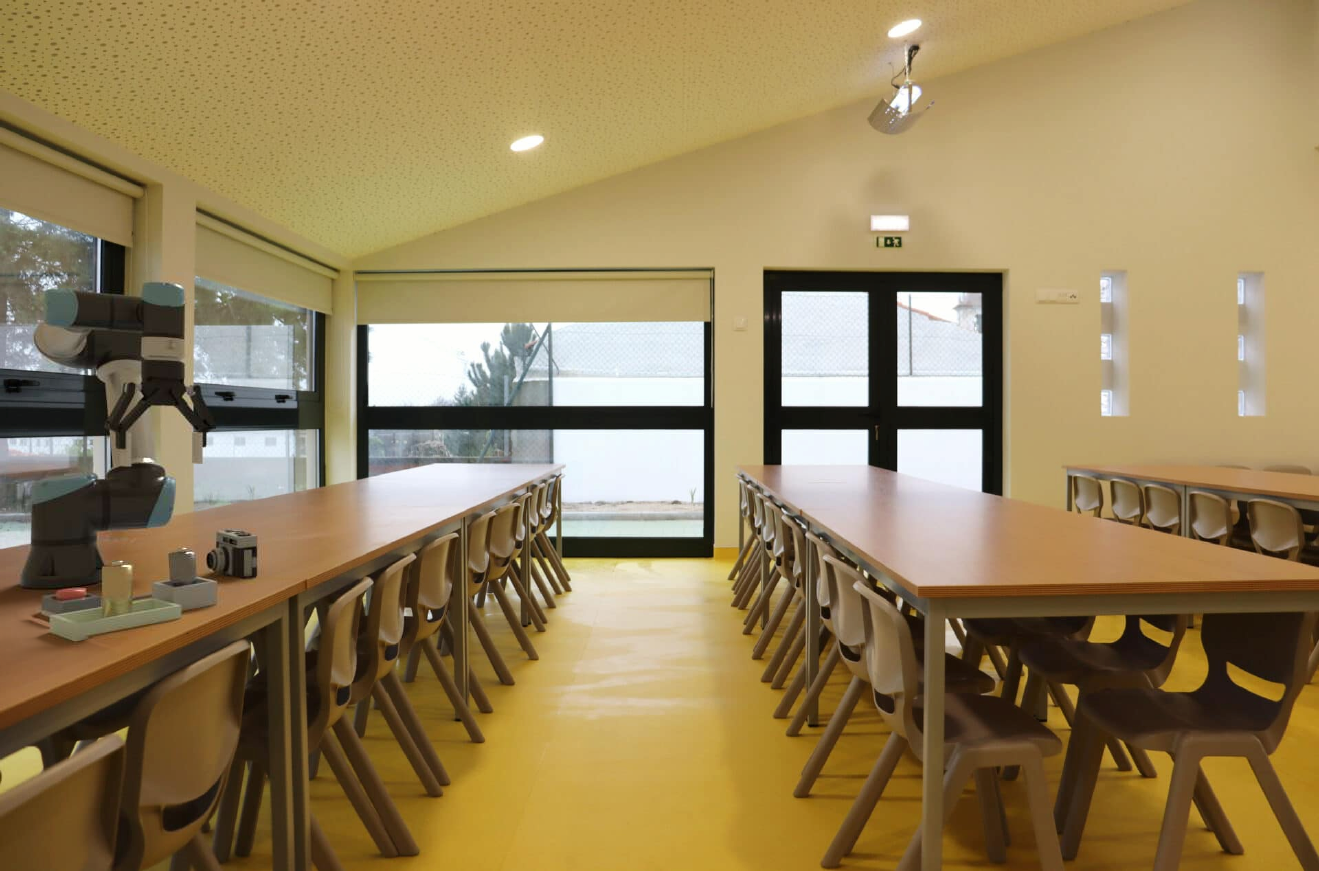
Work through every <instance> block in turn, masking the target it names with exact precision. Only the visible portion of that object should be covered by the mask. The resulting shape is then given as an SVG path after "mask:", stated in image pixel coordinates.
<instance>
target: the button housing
mask: <svg viewBox="0 0 1319 871" xmlns="http://www.w3.org/2000/svg"><path fill="white" fill-rule="evenodd" d="M99 607H102V596H98V595H95V594H92V593H88V592H86V597H84V598H77V599H71V600H64V601H60V600H57V599H56V593H54V594H53V593H52V594H46V595H41V611H40V614H41V615H42V616H45V617H49V618H50V616H51V615H57V614H63V613H69V612H75V611H81V610H87V609H93V608H99Z"/></svg>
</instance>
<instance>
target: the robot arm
mask: <svg viewBox="0 0 1319 871" xmlns="http://www.w3.org/2000/svg"><path fill="white" fill-rule="evenodd" d="M185 295H186V294H185V289H184V287H183V286H182V285H180V284H176V283H174V282H165V281H146V282H144V283H143V284H142V285H141V294H140V296H135V295H125V294H115V293H103V292H92V291H85V290H73V289H69V288H63V289H62V288H48V289H46V290H45V291H44V295H43V303H42V305H43V306H42V310H43V311H42V312H43V313H42V314H43V320H42V321H41V322H40V323H38V325H37V326H36V328H35V331H34V333H33V343H34V345H35V347H36V349H37V350H38V352H39V353H40V354H42V355H43V356H44V357H45V358H47V359H48V360H50V361H52V362H54V363H56V364H58V365H61V366H63V367H67V368H72V369H77V370H78V369H79V370H80V369H81V370H92V371H93V370H95V371H96V377H97V378H98V379H99V380H100V381H102V382H103V383H105V384H104V385H105V395H106V404H107V405H106V406H107V415H108V416H107V419H106V421H105V423H104V427H103V428H104V429H106V430H109V437H110V447H111V448H110V449H111V450H110V451H111V457H112V467H111V468H110V469H108V471H106V473H105V478H99V476H98V474H97V473H96V472H82V473H72V474H64V475H58V476H57V475H56V476H52V477H46V478H43V479H42V478H41V479H38V480H36V481H35V482H34V483H33V485H32V486H31V489H30V490H31V491H30V500H29V505H30V506H31V507H30V549H29V553H28V555H27V558H26V560H25V563H24V565H23V568H22V570H21V573H20V577H19V580H20V581H19V583H20V584H19V585H20V587H23V588H26V589H58V588H59V589H60V588H61V589H62V588H71V587H72V588H74V587H79V586H85V585H91V584H96V583H99V582H100V583H101V582H102V567H103V566H105V565H106V564H105V562H104V559H103V556H102V553H101V551H100V548H99V546H98V532H109V531H111V532H112V531H121V530H122V531H124V530H125V531H126V530H128V531H129V530H140V529H143V530H144V529H145V530H148V529H151V528H152V529H154V528H160V527H165V526H167V525H168V524H169V523H170V521H171V519H172V517H173V513H174V508H175V502H176V491H177V489H176V488H177V487H176V485H177V484H176V482H177V481H176V479H175V478H174V476H170V475H169V476H166V475H167V474H166V469H165V467H164V466H162V465H161V464H160V463H157V455H156V447H155V439H154V436H155V435H154V430H153V421H152V420H153V419H152V413H151V412H152V410H151V407H153V406H154V407H155V406H156V407H159V406H160V407H161V406H164V407H174V408H176V409H177V410H178V411H179V413H180V414H182V416H183V417H184V418H185V419H186V421H187V422H188V423H189V424H190V425H191V427H192V428H193V429H194V430H195V431H196V432H195V431H193V432H192V434H191V435H192V436H191V437H192V438H191V440H192V441H191V444H192V445H191V464H196V465H197V464H198V465H201V464H203V460H204V458H203V457H204V456H203V450H204V449H203V448H206V447H207V435H208V434H207V433H209V432H210V431H211V430H215V429H216V428H217V424H216V422H215V419H214V417H213V416H212V414H211V412H210V410H209V408H208V406H207V404H206V402H205V400H204V397H203V396H202V388H201V387H202V386H201V385H199V384H191V385H189V386H187V385H185V378H186V374H185V372H186V371H185V370H186V367H185V366H186V364H185V363H184V361H182V360H184V359H185V356H186V354H185V353H186V352H185V351H186V350H185V348H186V347H185V345H186V342H185V338H186V337H185V332H186V330H185V329H186V327H185V326H186V325H185V324H186V318H185V317H186V304H187V301H186V296H185ZM185 394H187V395H188V396H189V398H190V400H191V402H192V405H193V407H194V408H195V411H196V412H197V414H198V415H197V414H196V412H195V411H194V410H193V409H192V408H191V407H190V405H189V403H188V402H187V401H186V400H185V398H184V397H183V396H184V395H185Z"/></svg>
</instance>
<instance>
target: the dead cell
mask: <svg viewBox="0 0 1319 871" xmlns="http://www.w3.org/2000/svg"><path fill="white" fill-rule="evenodd" d="M196 560H197V559H196V551H195V550H188V549H187V547H179V548H178V547H177V549H176V551H172V552H169V553H168V567H169V568H168V569H169V580H170V586H174V587H180V586H186V585H192V584H197V577H198V576H197V562H196Z"/></svg>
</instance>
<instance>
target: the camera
mask: <svg viewBox="0 0 1319 871" xmlns="http://www.w3.org/2000/svg"><path fill="white" fill-rule="evenodd" d="M215 534H216V537H215V538H216V542H215V548H212V549H211V551H210V552H207V555H206V566H207V568H208V569H209V570H212V571H213V572H216V573H217V572H218V573H219V574H222V575H226V576H228V577H233V578H238V579H242V580H246V579H252V578H257V576H258V535H255V534H253V533H249V532H246V531H244V530H241V529H232V528H226V529H223V530H217V531H216V533H215Z"/></svg>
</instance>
